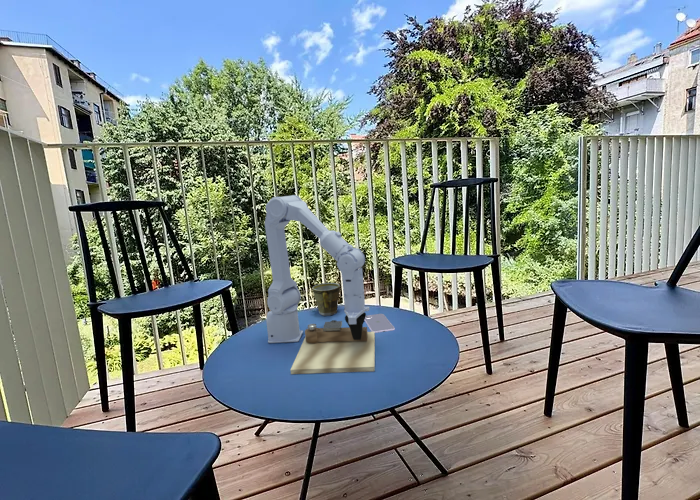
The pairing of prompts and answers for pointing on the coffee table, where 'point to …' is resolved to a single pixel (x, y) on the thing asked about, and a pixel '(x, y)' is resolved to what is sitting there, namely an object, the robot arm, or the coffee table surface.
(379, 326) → the mobile phone
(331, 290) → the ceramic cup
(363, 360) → the base plate
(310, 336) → the link
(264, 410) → the coffee table surface
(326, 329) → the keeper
